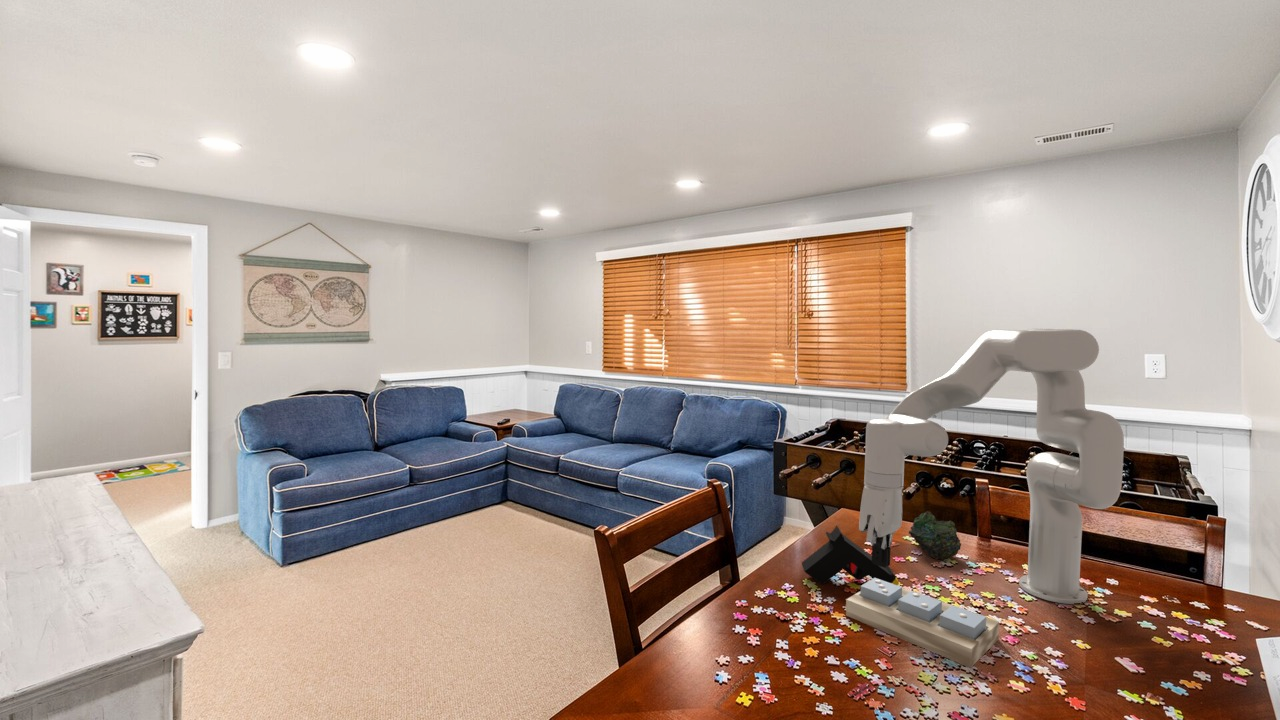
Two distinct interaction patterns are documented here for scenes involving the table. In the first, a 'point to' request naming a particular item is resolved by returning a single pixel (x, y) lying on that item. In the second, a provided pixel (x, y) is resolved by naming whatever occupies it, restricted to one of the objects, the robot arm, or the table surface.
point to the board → (923, 629)
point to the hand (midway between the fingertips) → (880, 564)
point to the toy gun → (844, 561)
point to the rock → (935, 536)
